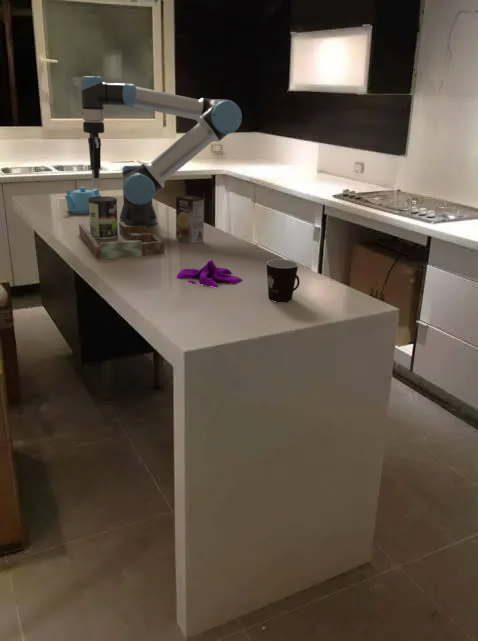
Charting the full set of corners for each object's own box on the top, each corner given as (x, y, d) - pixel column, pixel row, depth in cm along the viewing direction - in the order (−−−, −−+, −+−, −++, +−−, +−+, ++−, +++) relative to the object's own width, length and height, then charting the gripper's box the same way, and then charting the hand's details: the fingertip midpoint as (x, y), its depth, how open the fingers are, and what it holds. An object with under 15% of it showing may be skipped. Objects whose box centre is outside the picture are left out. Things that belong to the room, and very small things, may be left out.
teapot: (102, 215, 268) (100, 190, 264) (66, 215, 265) (64, 190, 261) (101, 208, 282) (100, 184, 278) (67, 208, 279) (65, 184, 275)
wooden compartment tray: (139, 231, 241) (139, 218, 239) (164, 254, 210) (164, 239, 208) (79, 234, 232) (78, 221, 231) (96, 259, 201) (95, 244, 200)
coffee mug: (262, 293, 174) (264, 259, 170) (293, 293, 174) (295, 259, 171) (268, 307, 163) (270, 271, 159) (300, 307, 164) (302, 271, 160)
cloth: (168, 273, 191) (168, 254, 188) (223, 268, 198) (223, 249, 196) (195, 295, 172) (195, 274, 170) (254, 288, 180) (255, 268, 177)
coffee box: (175, 239, 230) (174, 196, 224) (187, 237, 235) (187, 194, 229) (191, 244, 224) (192, 199, 219) (204, 241, 229) (205, 198, 223)
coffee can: (122, 234, 235) (121, 197, 230) (111, 240, 225) (110, 201, 220) (96, 232, 237) (95, 195, 232) (85, 238, 227) (83, 199, 222)
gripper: (80, 120, 230) (83, 184, 239) (85, 122, 219) (89, 189, 228) (100, 120, 233) (103, 183, 242) (107, 122, 222) (109, 189, 230)
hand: (96, 186), depth 235 cm, fingers closed
